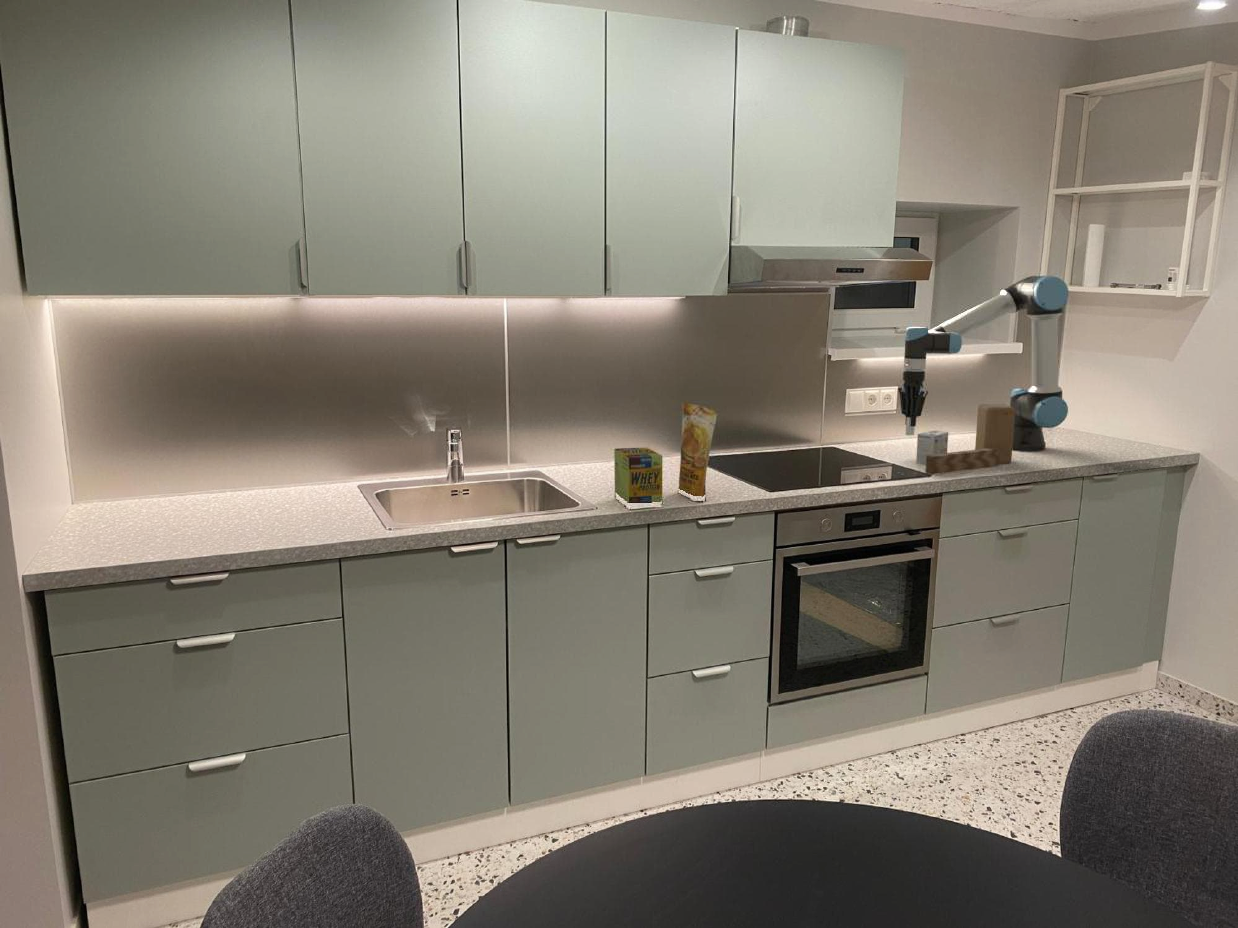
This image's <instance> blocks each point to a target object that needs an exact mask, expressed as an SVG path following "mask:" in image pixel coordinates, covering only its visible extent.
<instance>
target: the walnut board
mask: <svg viewBox="0 0 1238 928" xmlns="http://www.w3.org/2000/svg"><path fill="white" fill-rule="evenodd" d="M998 457H999V449H996V448H985V449H977V450H975V449H970V450H962V451H959V450H958V451H952V452H947V453H942V454H934V455H927V456H926V464H925V474H928V473H930V474H929V475H938V474H937V473H940V474H945V473H946V474H947V473H953V472H954V473H955V472H960V471H969V470H971V471H972V470H977V469H978V468H979V469H986V468H993V467H998V466H999V464H998Z"/></svg>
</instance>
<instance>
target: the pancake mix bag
mask: <svg viewBox="0 0 1238 928" xmlns="http://www.w3.org/2000/svg"><path fill="white" fill-rule="evenodd" d="M717 422H718V412H717V410H715V408H711V407H707V406H703V405H700V404H695V403H692V402H691V403H690V402H687V401H686V402H683V403H682V404H681V432H680V433H681V434H680V435H681V436H680V437H681V440H680V464H679V474H678V475H679V477H678V489H680V490H683V491H685V492H686V493H688V494H691V495H693V496H702V497H703V496H704V495H705V494H706V495H707V493H706V480H707V478H706V477H707V469H708V465H709V464H708V463H709V458H710V452H711V449H712V443H713V438H714V433H715V430H716V425H717Z"/></svg>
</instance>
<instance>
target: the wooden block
mask: <svg viewBox="0 0 1238 928" xmlns="http://www.w3.org/2000/svg"><path fill="white" fill-rule="evenodd" d="M976 417H977V418H976V429H975V430H976V433H975V443H974V444H975V446H974V448H975V449H974V450H977V449H985V448H996V449H999V457H998V465H999V464H1011V462H1012V459H1013V450H1012V446H1013V433H1014V420H1015V408H1013V407H1011V406H1010V405H1007V404H1004V403H981V404H978V406H977V416H976Z"/></svg>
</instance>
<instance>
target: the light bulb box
mask: <svg viewBox="0 0 1238 928" xmlns="http://www.w3.org/2000/svg"><path fill="white" fill-rule="evenodd" d="M916 440H917V442H916V445H917V446H916V457H915V458H916V462H915V463H916V464H920V465H926V456H927V455H934V454H942V453H948V445H949V444H948V443H949V431H944V430H943V431H942V430H936V429H935V430H934V429H931V430H928V431H923V432H921V433H917V439H916Z"/></svg>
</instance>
